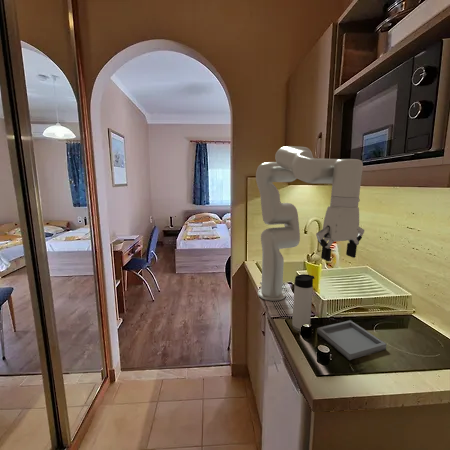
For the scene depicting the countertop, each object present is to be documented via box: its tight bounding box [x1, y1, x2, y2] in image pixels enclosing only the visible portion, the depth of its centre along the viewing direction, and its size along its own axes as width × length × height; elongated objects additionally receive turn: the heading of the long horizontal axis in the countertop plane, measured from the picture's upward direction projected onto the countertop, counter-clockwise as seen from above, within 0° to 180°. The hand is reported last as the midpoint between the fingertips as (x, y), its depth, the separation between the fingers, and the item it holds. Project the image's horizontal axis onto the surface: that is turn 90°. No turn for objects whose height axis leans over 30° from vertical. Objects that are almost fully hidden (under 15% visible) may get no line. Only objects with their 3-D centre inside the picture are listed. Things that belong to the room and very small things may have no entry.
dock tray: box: [316, 319, 387, 361], centre depth 92 cm, size 15×15×2 cm
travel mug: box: [291, 273, 315, 332], centre depth 98 cm, size 6×7×20 cm
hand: (338, 258), depth 83 cm, fingers open, 9 cm apart
